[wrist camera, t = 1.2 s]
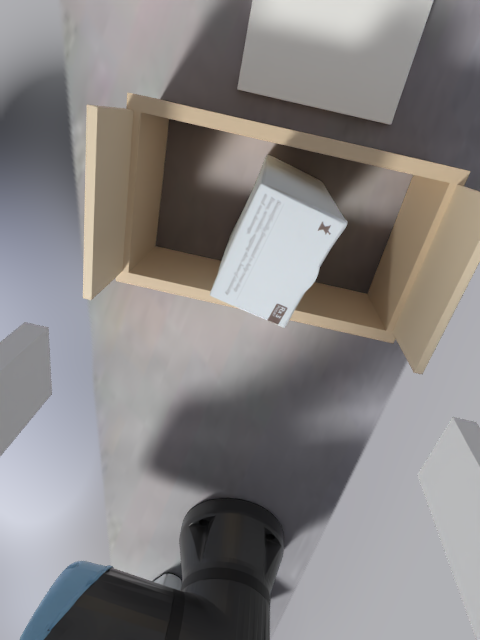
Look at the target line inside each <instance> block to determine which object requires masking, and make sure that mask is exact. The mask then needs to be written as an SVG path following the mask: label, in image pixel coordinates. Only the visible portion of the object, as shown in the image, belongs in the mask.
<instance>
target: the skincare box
mask: <svg viewBox="0 0 480 640" xmlns="http://www.w3.org/2000/svg"><path fill="white" fill-rule="evenodd" d="M347 222H348V221H347V220H346V219H345V218H344V217H343V215H342V214H341V212H340V210H339V209H338V207H337V205H336V204H335V202H334V201H333V199H332V197H331V196H330V194H329V192H328V191H327V189H326V187H325V186H324V184H323V182H322V181H320V180H318V179H316V178H314V177H312V176H310V175H308V174H306V173H304V172H303V171H301V170H299V169H297V168H295V167H293V166H291V165H289V164H287V163H285V162H283V161H281V160H279V159H277V158H275V157H273V156H271V155H267V156H266V158H265V160H264V162H263V165H262V168H261V171H260V173H259V175H258V178H257V180H256V183H255V185H254V187H253V190H252V192H251V194H250V196H249V198H248V201H247V203H246V205H245V207H244V209H243V211H242V213H241V215H240V217H239V219H238V221H237V223H236V225H235V226H234V228H233V230H232V232H231V235H230V238H229V241H228V244H227V246H226V249H225V252H224V255H223V258H222V261H221V264H220V267H219V271H218V274H217V277H216V279H215V282H214V284H213V287H212V289H211V292H210V296H212V297H214V298H216V299H218V300H221V301H223V302H225V303H228V304H230V305H232V306H235V307H237V308H239V309H242V310H244V311H246V312H249V313H251V314H253V315H256V316H258V317H260V318H263V319H265V320H268V321H270V322H272V323H274V324H276V325H279V326H281V327H283V328H285V327H286V325H287V323H288V321H289V320H290V318H291V316H292V314H293V313H294V311H295V309H296V307H297V305H298V304H299V302H300V300H301V299H302V297H303V295H304V294H305V292H306V291H307V290H308V289H309V288H310V287H311V286H312V285H313V283H314V282H315V280H316V278H317V276H318V273H319V268H320V267H321V265H322V263H323V261H324V260H325V258H326V256H327V255H328V253H329V251H330V249H331V248H332V246H333V245H334V244H335V242H336V241H337V239H338V238H339V236H340V235H341V234H342V232H343V231H344V229H345V228H346V226H347Z"/></svg>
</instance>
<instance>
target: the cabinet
mask: <svg viewBox="0 0 480 640" xmlns="http://www.w3.org/2000/svg"><path fill="white" fill-rule="evenodd" d="M169 119H173V120H177V121H181V122H186V123H190V124H195V125H199V126H203V127H208V128H212V129H216V130H221V131H225V132H229V133H234V134H238V135H242V136H247V137H251V138H256V139H260V140H264V141H269V142H273V143H277V144H282V145H286V146H290V147H295V148H299V149H304V150H308V151H312V152H317V153H321V154H325V155H330V156H334V157H338V158H343V159H347V160H351V161H356V162H360V163H365V164H369V165H373V166H378V167H382V168H386V169H391V170H395V171H399V172H404V173H408V174H413V177H412V180H411V182H410V185H409V187H408V190H407V192H406V195H405V198H404V200H403V203H402V205H401V208H400V211H399V213H398V216H397V218H396V221H395V224H394V226H393V229H392V231H391V234H390V237H389V239H388V242H387V244H386V247H385V250H384V252H383V255H382V257H381V260H380V262H379V265H378V268H377V270H376V273H375V275H374V278H373V281H372V283H371V286H370V288H369V291H368V294H365V293H361V292H357V291H352V290H348V289H343V288H339V287H334V286H330V285H326V284H321V283H317V282H314V283H313V285H312V286H311V287H310V288H309V289H308V290H307V291H306V292H305V294H304V295H303V297H302V299H301V300H300V302H299V304H298V305H297V307H296V309H295V311H294V313H293V314H292V316H291V318H290V320H291V321H296V322H300V323H305V324H309V325H313V326H318V327H322V328H327V329H331V330H336V331H340V332H344V333H349V334H353V335H358V336H362V337H367V338H371V339H376V340H380V341H384V342H389V343H394V341H395V339H396V340H397V342H398V344H399V346H400V348H401V350H402V351H403V353H404V355H405V357H406V359H407V361H408V362H409V364H410V366H411V368H412V370H413V372H414V373H418V374H423V372H424V370H425V368H426V366H427V364H428V362H429V360H430V358H431V356H432V354H433V352H434V350H435V349H436V347H437V345H438V343H439V341H440V339H441V336H442V335H443V333H444V331H445V329H446V327H447V325H448V323H449V321H450V319H451V317H452V315H453V313H454V311H455V309H456V307H457V305H458V303H459V301H460V299H461V297H462V296H463V294H464V292H465V290H466V288H467V286H468V284H469V282H470V280H471V278H472V276H473V274H474V272H475V270H476V268H477V266H478V264H479V262H480V191H477V190H474V189H471V188H468V187H465V186H464V185H465V183H466V180H467V178H468V176H469V174H470V171H467V170H463V169H459V168H455V167H451V166H447V165H443V164H439V163H434V162H430V161H426V160H422V159H417V158H413V157H409V156H404V155H400V154H396V153H391V152H387V151H382V150H378V149H374V148H369V147H365V146H361V145H356V144H352V143H348V142H343V141H339V140H335V139H330V138H326V137H322V136H317V135H313V134H308V133H304V132H300V131H295V130H291V129H287V128H282V127H278V126H274V125H269V124H265V123H261V122H256V121H252V120H248V119H243V118H239V117H234V116H230V115H226V114H221V113H217V112H213V111H208V110H204V109H200V108H195V107H191V106H187V105H182V104H178V103H174V102H169V101H165V100H160V99H156V98H151V97H146V96H142V95H137V94H132V93H127V109H124V108H115V107H105V106H96V105H87V122H86V171H85V220H84V268H83V298H84V299H89V300H92V299H93V298H94V297H95V296H96V295H97V294H98V293H100V292H101V291H102V290H103V289H104V288H105V287H106V286H107V285H108V284H109V283H110V282H111V281H113V280H114V279H115V278H116V281H118V282H123V283H127V284H132V285H136V286H140V287H145V288H149V289H154V290H158V291H163V292H167V293H171V294H176V295H180V296H185V297H189V298H194V299H198V300H203V301H207V302H211V303H216V304H220V305H225V306H229V307H234V308H237V307H235V306H232V305H230V304H228V303H225V302H223V301H221V300H218V299H216V298H214V297H212V296H210V292H211V289H212V287H213V284H214V282H215V279H216V277H217V274H218V271H219V267H220V264H221V261H220V260H215V259H211V258H206V257H202V256H198V255H193V254H189V253H184V252H180V251H175V250H171V249H167V248H162V247H158V246H156V239H157V229H158V220H159V211H160V201H161V192H162V183H163V173H164V164H165V155H166V146H167V136H168V127H169ZM238 309H239V308H238Z"/></svg>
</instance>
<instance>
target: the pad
mask: <svg viewBox="0 0 480 640" xmlns="http://www.w3.org/2000/svg"><path fill="white" fill-rule="evenodd" d="M433 1H434V0H252V6H251V12H250V18H249V23H248V29H247V35H246V41H245V47H244V52H243V58H242V64H241V70H240V76H239V81H238V87H237V89H238V90H240V91H245V92H249V93H253V94H258V95H262V96H266V97H271V98H275V99H280V100H284V101H288V102H293V103H297V104H301V105H306V106H310V107H314V108H319V109H323V110H327V111H332V112H336V113H340V114H345V115H349V116H353V117H358V118H362V119H366V120H371V121H375V122H379V123H384V124H388V125H391V123H392V121H393V118H394V115H395V112H396V109H397V106H398V103H399V100H400V97H401V94H402V91H403V88H404V85H405V82H406V80H407V77H408V74H409V71H410V68H411V65H412V62H413V59H414V56H415V53H416V50H417V47H418V44H419V42H420V39H421V36H422V33H423V30H424V27H425V24H426V21H427V18H428V15H429V12H430V9H431V6H432V3H433Z"/></svg>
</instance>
